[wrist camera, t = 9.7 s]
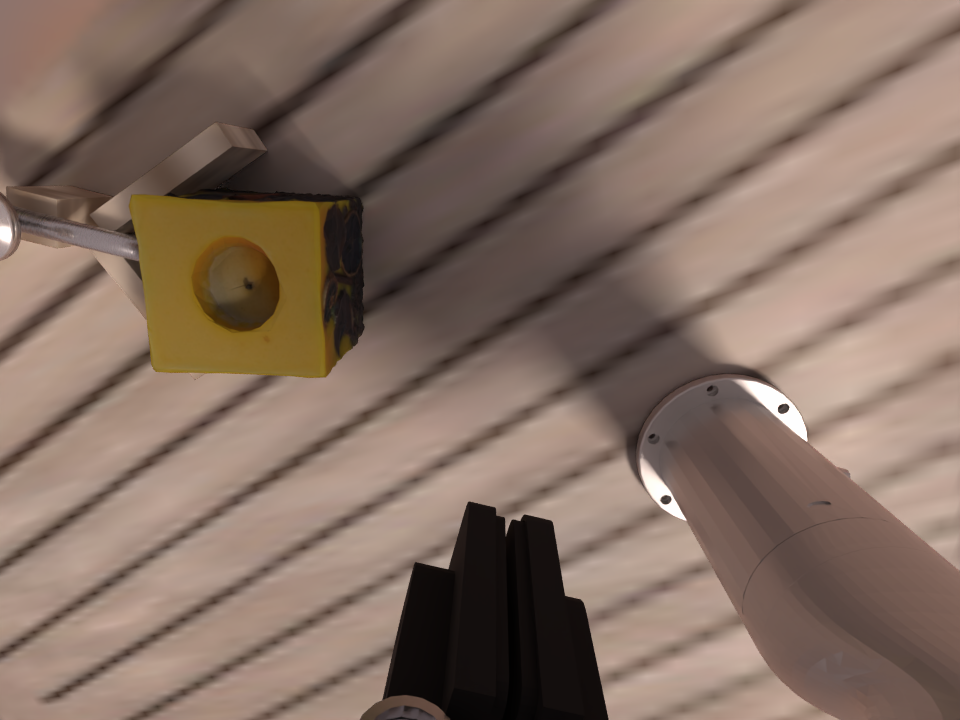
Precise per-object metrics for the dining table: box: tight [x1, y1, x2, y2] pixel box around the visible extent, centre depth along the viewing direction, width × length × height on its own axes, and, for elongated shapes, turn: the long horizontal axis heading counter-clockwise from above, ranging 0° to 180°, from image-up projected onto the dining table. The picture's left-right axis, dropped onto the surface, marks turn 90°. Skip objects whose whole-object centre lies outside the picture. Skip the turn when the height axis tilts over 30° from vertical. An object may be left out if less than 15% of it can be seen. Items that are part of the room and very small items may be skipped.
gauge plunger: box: [0, 192, 139, 261], centre depth 30 cm, size 11×4×4 cm, turn 76°
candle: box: [129, 188, 364, 378], centre depth 33 cm, size 10×10×10 cm
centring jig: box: [6, 122, 268, 380], centre depth 35 cm, size 13×16×5 cm
